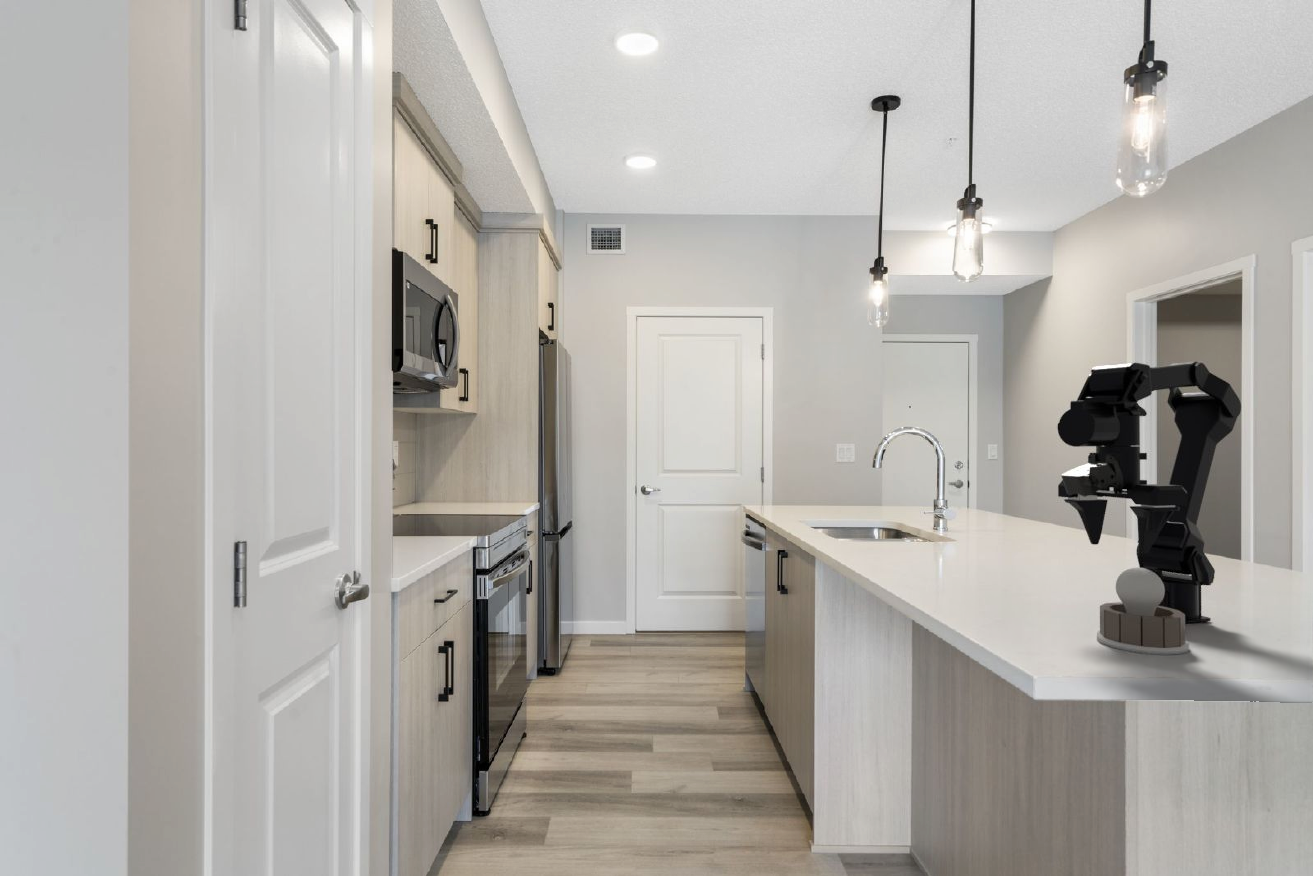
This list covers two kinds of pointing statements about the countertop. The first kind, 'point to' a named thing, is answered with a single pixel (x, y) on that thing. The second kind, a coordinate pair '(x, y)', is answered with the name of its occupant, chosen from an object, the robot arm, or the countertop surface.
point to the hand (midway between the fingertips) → (1118, 548)
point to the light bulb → (1140, 591)
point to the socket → (1143, 630)
